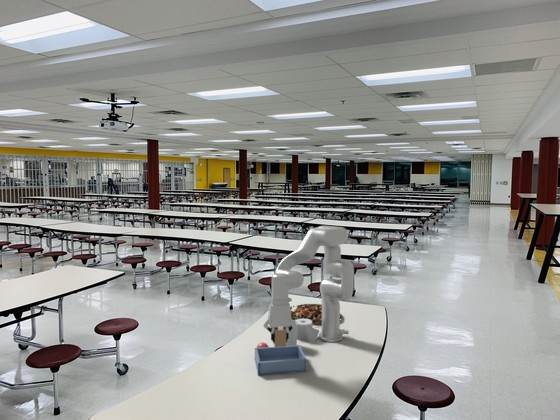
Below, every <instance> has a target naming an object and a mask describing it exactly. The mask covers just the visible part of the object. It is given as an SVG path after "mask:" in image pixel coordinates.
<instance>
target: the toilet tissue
mask: <svg viewBox="0 0 560 420" xmlns="http://www.w3.org/2000/svg"><path fill="white" fill-rule="evenodd" d="M295 321H297V322H298V331H297V341H300V342H301V341H302V342H316V341H317V338H318V337H319V332H320V330H319V329H317V328H314V327H313V325H312V321H311V320H309V319H297V320H295Z"/></svg>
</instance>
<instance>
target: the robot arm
mask: <svg viewBox="0 0 560 420" xmlns="http://www.w3.org/2000/svg"><path fill="white" fill-rule="evenodd" d="M348 239H349V231H348V230H347V228H345V227H343V226H332V225H320V226H318V227H313V228H310V229H309V230H308V231H307V233H306V235H305V236H304V237H303V240H302V241H301V243H300V244H299V246H298V248H297V249H296V250H295V251H293V252H291V253H289V254H288V255H287V256H285V257H284V258H282V260H281V261H280V263H279V264H278V266H277V268H276V270H275V271H274V273H273V274H272V275H271V303H269V306H268V317H267V320H266V321H265V322H264V323H263V328H264V329H266V330H267V331H268V332H269V333H270V340H271V341H272V343H273V344H274V342H275V334H274V330H275V328H276V327H278V326H283V327H285V328H286V342H287V339H289V332H290V331H291V330H292V328H294V327H295V326H296V323H295V322H294V321H293V320H292V318H291V311H292V309H290V307H291V305H290V303H291V302H292V301H293V299H292V298H291V297H290V296H289V291H290V290H291V289H298V288H300V287H301V286H302V285H303V284H304V281H305V279H304V276H303V274H302V273H301V272H299V271H297V270H296V271H295V270H291V269H292V268H293V267H295V266H298V265H301V264H304V263H307V262H310V261H312V260H314V257H315V255H316V253H317V252H318V250H319V248H320V247H323V248H324V250H323V251H324V257H323V259H324V260H323V272H324V274H325V275H326V276H329V277H333V278H329V277H328V278H327V277H326V278H324V279H322V280H321V282H320V284H319V291H320V296H321V304H322V325H321V331H320V333H318V338H319V340H321V341H324V342H328V343H336V342H340V341H342V340H343V335H349V333H350V331H349V330H348V329H347V330H345V328H342V329H341V326H340V324H341V320H340V314H341V305H340V301H339V300H342V301H349V300H350V299H351V298H352V296H353V293H354V277H355V268H354V264H353V263H352V262H351V261H350V260H348V259H342V256H341V255H342V253H341V251H342V250H341V249H342V248H341V246H340V245H344V244H345V243H346V242H347V240H348ZM336 278H338V279H336ZM291 323H292V325H291Z"/></svg>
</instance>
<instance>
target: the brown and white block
mask: <svg viewBox="0 0 560 420" xmlns="http://www.w3.org/2000/svg"><path fill="white" fill-rule="evenodd" d="M274 334H275V342H274V343H273V345H274V346H273V347H284V346H286V328H285V327H283V326H278V327H276V328H275V330H274Z"/></svg>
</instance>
